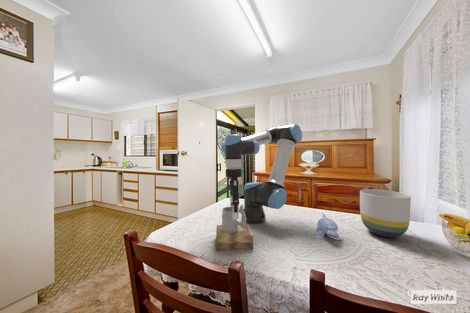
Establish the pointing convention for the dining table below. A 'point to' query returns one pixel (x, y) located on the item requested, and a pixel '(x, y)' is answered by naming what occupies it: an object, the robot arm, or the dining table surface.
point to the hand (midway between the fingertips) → (234, 213)
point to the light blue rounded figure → (327, 228)
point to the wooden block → (234, 239)
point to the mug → (229, 223)
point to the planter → (385, 212)
